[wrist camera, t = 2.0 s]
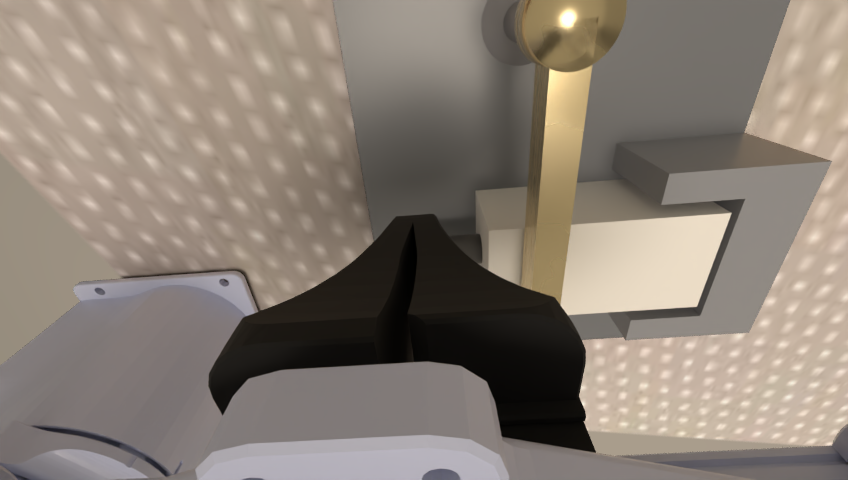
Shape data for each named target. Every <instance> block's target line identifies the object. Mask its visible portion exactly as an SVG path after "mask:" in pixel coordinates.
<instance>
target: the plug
mask: <svg viewBox="0 0 848 480" xmlns="http://www.w3.org/2000/svg"><path fill="white" fill-rule="evenodd" d="M475 196H476V234H466V235H453V236H449V237H450V238H451V239H452V240H453V241H454V243H455V244H456V245H457V246H458V247H459V248H460V249H461V250H462V251H463V252H464V253H465V254H466V255H468V256H469V257H470V258H471V259H472V260H474V261H475V262H476V263H478V264H479V265H481V266H482V267H484V268H485V269H487V270H489V271H490V272H492V273H494V274H496V275H497V276H499V277H501V278H503V279H505V280H507V281H510V282H512V283H514V284H517V285H519V286H521V280H522V264H523V249H524V233H525V217H526V201H527V187H515V188H502V189H489V190H476V191H475ZM731 214H732V213H731V212H729V211H728V210H726V209H724V208H723V207H721V206H719V205H718V204H716V203H714V202H713V201H708V202H695V203H682V204H668V205H661V204H659V203H658V202H656V201H655V200H654V199H652V198H651V197H650V196H648V195H647V194H646V193H644V192H643V191H642V190H640V189H639V188H638V187H636V186H635V185H633V184H632V183H631V182H629V181H628V180H627V179H619V180H606V181H593V182H580V183H577V184H576V192H575V199H574V207H573V214H572V222H571V229H570V237H569V244H568V252H567V259H566V267H565V274H564V282H563V289H562V297H561V304H560V305H561V307H562V308H563V309H564V311H565V312H566V313H567V315H577V314H593V313H608V312H623V311H639V310H654V309H670V308H685V307H697V305H698V302H699V300H700V297H701V294H702V292H703V289H704V286H705V284H706V281H707V278H708V276H709V273H710V270H711V267H712V265H713V262H714V259H715V257H716V254H717V251H718V249H719V246H720V243H721V241H722V238H723V235H724V233H725V230H726V227H727V224H728V222H729V219H730V216H731Z"/></svg>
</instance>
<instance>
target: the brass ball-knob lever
mask: <svg viewBox="0 0 848 480" xmlns="http://www.w3.org/2000/svg"><path fill="white" fill-rule="evenodd" d="M626 9H627V0H520V2H519V4H518V7H517V10H516V15H515V23H514V30H515V37H516V41H517V44H518V46H519V48H520V50H521V52H522V53H523V54H524V56H525V57H526V58H527V59H528V60H530V61H531V62H533V63H534V64H535V75H534V90H533V106H532V122H531V138H530V154H529V170H528V185H527V201H526V217H525V233H524V249H523V264H522V280H521V286H522V287H524V288H527V289H530V290H533V291H537V292H540V293H543V294H546V295H549V296H553V297H555V298H556V300H557V301H558V302H559V304H561V297H562V289H563V282H564V274H565V267H566V259H567V252H568V244H569V237H570V229H571V222H572V214H573V207H574V199H575V192H576V184H577V177H578V169H579V162H580V154H581V147H582V139H583V132H584V124H585V117H586V109H587V102H588V94H589V87H590V80H591V72H592V65H593V64H595V63H596V62H597V61H599V60H600V59H601V58H602V57H603V56H604V55H605V54H606V53H607V52H608V51H609V50H610V49H611V47H612V46H613V45H614V43H615V42H616V40H617V38H618V36H619V34H620V32H621V30H622V27H623V24H624V21H625V16H626Z"/></svg>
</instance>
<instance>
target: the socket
mask: <svg viewBox="0 0 848 480" xmlns="http://www.w3.org/2000/svg"><path fill="white" fill-rule="evenodd" d="M519 2H520V0H333V5H334V11H335V17H336V23H337V29H338V35H339V40H340V46H341V52H342V58H343V64H344V70H345V75H346V81H347V87H348V93H349V99H350V105H351V110H352V116H353V122H354V128H355V134H356V140H357V145H358V151H359V157H360V163H361V169H362V175H363V180H364V186H365V192H366V198H367V204H368V210H369V215H370V221H371V227H372V233H373V239H374V241H375V240H376V239H377V238H378V237H379V236H380V235H381V233H382V232H383V231H384V230H385V229H386V227H387V226H388V225H389V224H390V223H391V221H392V220H393V219H394V218H395V217H396V216H408V215H422V214H434V215H435V216H437V219H438V221H439V223H440V224H441V226H442V227H443V229H444V230H445V232H446V233H447V234H448V235H449V236H453V235H466V234H476V196H475V191H476V190H489V189H502V188H515V187H527V185H528V170H529V154H530V138H531V122H532V106H533V90H534V75H535V64H534V63H533V62H531V61H530V60H528V59H527V58H526V57H525V56H524V54H523V53H522V52H521V50H520V48H519V46H518V44H517V41H516V37H515V30H514V23H515V15H516V10H517V7H518V4H519ZM789 2H790V0H627V9H626V16H625V21H624V24H623V27H622V30H621V32H620V34H619V36H618V38H617V40H616V42H615V43H614V45H613V46H612V47H611V49H610V50H609V51H608V52H607V53H606V54H605V55H604V56H603V57H602V58H601V59H600V60H599V61H597V62H596V63H595V64H593V65H592V72H591V80H590V87H589V94H588V102H587V109H586V117H585V124H584V132H583V139H582V147H581V154H580V162H579V169H578V177H577V183H580V182H593V181H606V180H619V179H627V180H628V181H629V182H631V183H632V184H633V185H635V186H636V187H638V188H639V189H640V190H642V191H643V192H644V193H646V194H647V195H648V196H650V197H651V198H652V199H654V200H655V201H656V202H658V203H659V204H661V205H668V204H682V203H695V202H708V201H713V202H714V203H716V204H718V205H719V206H721V207H723V208H724V209H726V210H728V211H729V212H731V213H732V214H731V216H730V219H729V222H728V224H727V227H726V230H725V233H724V235H723V238H722V241H721V243H720V246H719V249H718V251H717V254H716V257H715V259H714V262H713V265H712V267H711V270H710V273H709V276H708V278H707V281H706V284H705V286H704V289H703V292H702V294H701V297H700V300H699V302H698V305H697V307H685V308H670V309H654V310H639V311H623V312H608V313H593V314H577V315H568V316H569V318H570V319H571V321H572V322H573V324H574V326H575V328H576V329H577V331H578V333H579V335H580V337H581V340H587V339H603V338H619V337H624V338H625V340H637V339H653V338H669V337H685V336H701V335H717V334H733V333H749V331H750V329H751V327H752V325H753V323H754V321H755V319H756V317H757V315H758V313H759V311H760V309H761V307H762V305H763V303H764V300H765V298H766V296H767V294H768V292H769V290H770V288H771V286H772V284H773V282H774V280H775V278H776V276H777V274H778V272H779V270H780V267H781V265H782V263H783V261H784V259H785V257H786V255H787V253H788V251H789V249H790V247H791V245H792V243H793V241H794V239H795V236H796V234H797V232H798V230H799V228H800V226H801V224H802V222H803V220H804V218H805V216H806V214H807V212H808V210H809V208H810V206H811V203H812V201H813V199H814V197H815V195H816V193H817V191H818V189H819V187H820V185H821V183H822V181H823V179H824V177H825V175H826V172H827V170H828V168H829V166H830V164H831V162H832V161H830V160H827V159H823V158H820V157H817V156H814V155H811V154H808V153H805V152H802V151H799V150H796V149H793V148H790V147H786V146H783V145H780V144H777V143H774V142H771V141H768V140H765V139H762V138H759V137H756V136H753V135H750V134H746V133H744V131H745V129H746V126H747V123H748V120H749V117H750V114H751V111H752V108H753V106H754V103H755V100H756V97H757V94H758V91H759V88H760V85H761V83H762V80H763V77H764V74H765V71H766V68H767V65H768V62H769V60H770V57H771V54H772V51H773V48H774V45H775V42H776V40H777V37H778V34H779V31H780V28H781V25H782V22H783V19H784V17H785V14H786V11H787V8H788V5H789Z"/></svg>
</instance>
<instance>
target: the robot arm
mask: <svg viewBox="0 0 848 480" xmlns="http://www.w3.org/2000/svg"><path fill="white" fill-rule="evenodd" d="M223 279H226V280H228V282H226V281H224V280H223ZM73 291H74V293H75V294H76V296H77V297H78V299H79V300H80V302H79V303H78V304H76V305H75V306H74V307H73V308H71V309H70V310H69V311H68V312H66V313H65V314H64V315H63V316H61V317H60V318H59V319H58V320H56V321H55V322H54V323H53V324H52V325H50V326H49V327H48V328H47V329H45V330H44V331H43V332H42V333H40V334H39V335H38V336H37V337H35V338H34V339H33V340H32V341H30V342H29V343H28V344H27V345H25V346H24V347H23V348H22V349H20V350H19V351H18V352H17V353H15V354H14V355H13V356H12V357H10V358H9V359H8V360H7V361H5V362H4V363H3V364H2V365H0V480H848V424H847V425H846V426H844V427H843V428H842V429H841V430H840V431H839V433H838V434H837V435H836V437H835V439H834V441H833V444H832V446H813V447H792V448H771V449H750V450H730V451H729V450H728V451H707V452H687V453H668V454H667V453H665V454H646V455H645V454H643V455H622V456H612V455H606V454H600V453H596V451H595V449H594V446H593V444H592V441H591V439H590V436H589V434H588V431H587V429H586V426H585V424H584V422H583V421H585V418H586V414H585V410H584V408H583V405H582V403H581V401H580V398H579V393H580V388H581V383H582V378H583V373H584V368H585V362H586V350H585V347H584V345H583V342H582V340H581V337H580V335H579V333H578V331H577V329H576V328H575V326H574V324H573V322H572V321H571V319H570V318H569V316H568V315H567V313H566V312H565V311H564V309H563V308H562V307H561V305H560V304H559V302H558V301H557V300H556V298H555V297H553V296H549V295H546V294H543V293H540V292H537V291H533V290H530V289H527V288H524V287H522V286H519V285H517V284H514V283H512V282H510V281H507V280H505V279H503V278H501V277H499V276H497V275H496V274H494V273H492V272H490V271H489V270H487V269H485V268H484V267H482V266H481V265H479V264H478V263H476V262H475V261H474V260H472V259H471V258H470V257H469V256H468V255H466V254H465V253H464V252H463V251H462V250H461V249H460V248H459V247H458V246H457V245H456V244H455V243H454V241H453V240H452V239H451V238H450V237H449V235H448V234H447V233H446V232H445V230H444V229H443V227H442V226H441V224H440V223H439V221H438V219H437V216H435V215H434V214H422V215H408V216H396V217H395V218H394V219H393V220H392V221H391V223H390V224H389V225H388V226H387V227H386V229H385V230H384V231H383V232H382V233H381V235H380V236H379V237H378V238H377V239H376V240H375V241H374V242H373V243H372V244H371V245H370V246H369V247H368V248H367V249H366V250H365V251H364V252H363V253H362V254H361V255H360V256H359V257H358V258H357V259H356V260H354V261H353V262H352V263H351V264H349V265H348V266H347V267H345V268H344V269H343V270H341V271H340V272H338V273H337V274H335V275H334V276H332V277H331V278H329V279H327V280H326V281H324V282H322V283H321V284H319V285H317V286H316V287H314V288H312V289H310V290H308V291H306V292H304V293H302V294H300V295H298V296H296V297H294V298H292V299H290V300H287V301H285V302H283V303H280V304H278V305H275V306H273V307H270V308H267V309H265V310H262V311H259V312H258V310H257V307H256V305H255V302H254V299H253V297H252V294H251V292H250V289H249V287H248V284H247V282H246V279H245V277H244V276H243V274H241V273H240V272H237V271H224V272H210V273H196V274H181V275H167V276H153V277H139V278H125V279H111V280H97V281H83V282H79V283H78V284H77V285H75V286H74V288H73Z"/></svg>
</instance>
